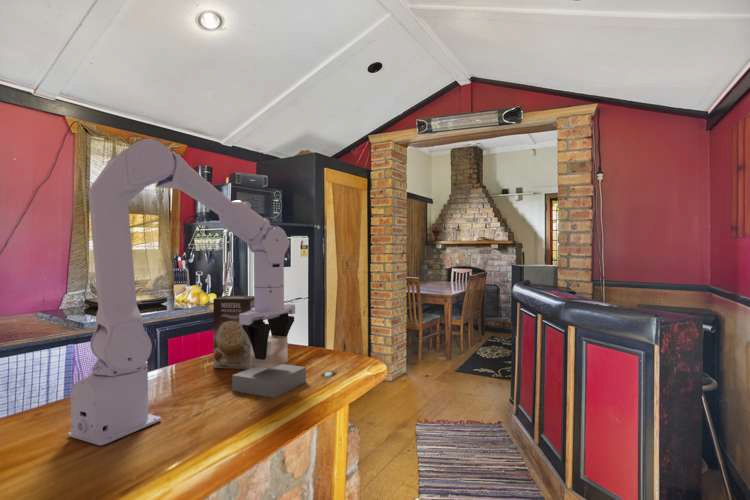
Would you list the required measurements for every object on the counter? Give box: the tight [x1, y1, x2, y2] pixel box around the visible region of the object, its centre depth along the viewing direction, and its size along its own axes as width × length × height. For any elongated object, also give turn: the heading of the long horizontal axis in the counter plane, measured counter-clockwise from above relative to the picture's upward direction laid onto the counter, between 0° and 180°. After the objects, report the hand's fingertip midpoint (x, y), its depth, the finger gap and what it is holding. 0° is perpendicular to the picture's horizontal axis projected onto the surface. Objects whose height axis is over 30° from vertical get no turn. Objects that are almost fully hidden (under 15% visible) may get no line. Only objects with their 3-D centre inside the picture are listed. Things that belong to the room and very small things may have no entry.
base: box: [231, 363, 307, 399], centre depth 81 cm, size 10×10×3 cm
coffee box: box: [212, 295, 254, 370], centre depth 96 cm, size 9×6×16 cm
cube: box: [251, 334, 289, 368], centre depth 81 cm, size 5×5×5 cm
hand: (269, 355), depth 81 cm, fingers closed on cube, 5 cm apart
